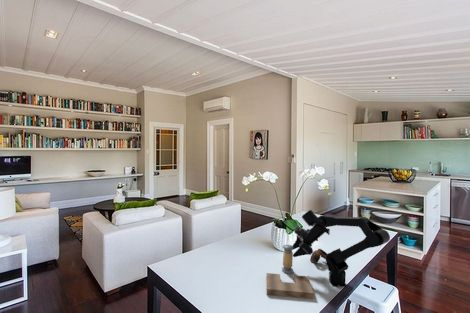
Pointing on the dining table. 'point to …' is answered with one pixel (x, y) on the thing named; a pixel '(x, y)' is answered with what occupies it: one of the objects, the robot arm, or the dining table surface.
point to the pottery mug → (318, 255)
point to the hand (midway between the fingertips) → (292, 252)
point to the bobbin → (287, 259)
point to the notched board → (289, 286)
